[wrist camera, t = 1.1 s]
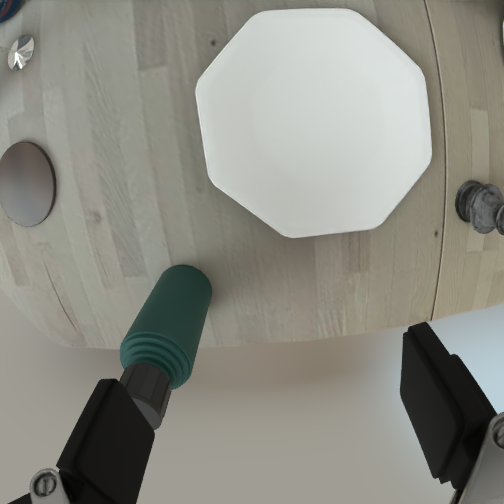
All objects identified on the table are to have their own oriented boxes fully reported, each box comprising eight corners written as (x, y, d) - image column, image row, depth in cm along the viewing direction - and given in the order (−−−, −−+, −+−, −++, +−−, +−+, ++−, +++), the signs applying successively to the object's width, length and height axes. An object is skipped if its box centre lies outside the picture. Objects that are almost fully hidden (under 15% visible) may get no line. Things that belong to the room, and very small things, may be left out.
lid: (32, 124, 29) (29, 124, 29) (70, 197, 33) (67, 198, 32) (-11, 174, 31) (-14, 175, 31) (22, 239, 35) (20, 241, 34)
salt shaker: (447, 190, 32) (512, 220, 20) (481, 170, 30) (547, 193, 19) (459, 232, 33) (518, 273, 22) (491, 212, 32) (552, 245, 21)
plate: (332, 270, 36) (335, 276, 34) (157, 141, 31) (153, 142, 29) (457, 118, 28) (464, 118, 27) (296, -24, 23) (297, -30, 22)
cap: (150, 356, 22) (136, 391, 18) (181, 391, 23) (172, 426, 19) (114, 369, 22) (98, 401, 19) (144, 402, 24) (133, 434, 20)
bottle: (193, 255, 35) (140, 368, 18) (221, 300, 37) (197, 427, 20) (148, 278, 36) (79, 388, 19) (178, 320, 38) (134, 440, 21)
